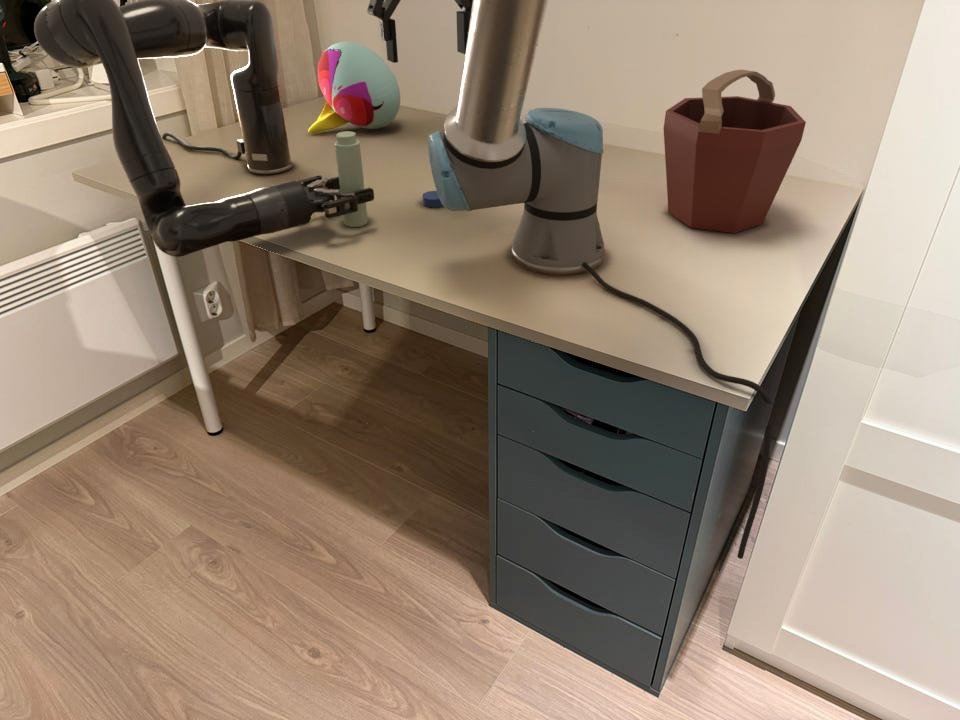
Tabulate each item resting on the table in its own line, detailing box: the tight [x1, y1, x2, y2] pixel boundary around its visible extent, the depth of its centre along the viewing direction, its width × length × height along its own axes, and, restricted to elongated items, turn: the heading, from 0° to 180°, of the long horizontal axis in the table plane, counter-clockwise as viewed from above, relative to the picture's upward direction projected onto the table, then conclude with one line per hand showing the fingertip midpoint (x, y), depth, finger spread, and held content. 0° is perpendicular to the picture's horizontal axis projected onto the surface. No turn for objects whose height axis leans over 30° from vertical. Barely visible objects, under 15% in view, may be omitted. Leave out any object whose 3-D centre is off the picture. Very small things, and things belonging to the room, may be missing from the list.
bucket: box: [663, 69, 807, 234], centre depth 125 cm, size 24×22×25 cm
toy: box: [307, 41, 401, 134], centre depth 176 cm, size 24×24×20 cm
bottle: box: [334, 130, 369, 228], centre depth 126 cm, size 4×4×16 cm
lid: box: [421, 190, 444, 208], centre depth 137 cm, size 5×5×2 cm
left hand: (360, 186), depth 127 cm, fingers open, 8 cm apart
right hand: (428, 57), depth 122 cm, fingers open, 13 cm apart
